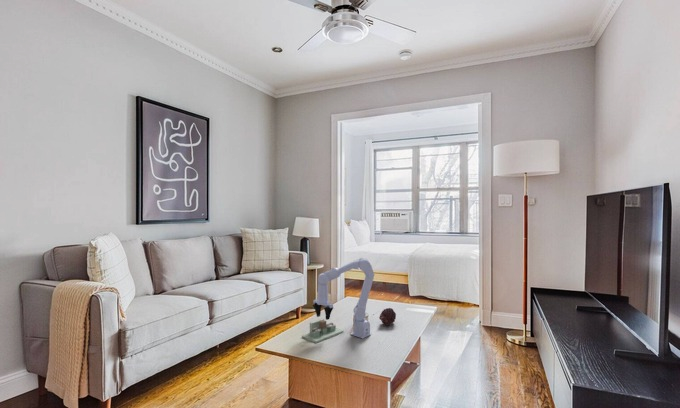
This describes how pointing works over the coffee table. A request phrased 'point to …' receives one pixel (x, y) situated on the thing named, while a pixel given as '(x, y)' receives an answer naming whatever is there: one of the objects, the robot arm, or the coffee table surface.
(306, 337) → the mint green baseplate
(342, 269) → the robot arm
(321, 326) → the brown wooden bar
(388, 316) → the pine cone
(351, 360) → the coffee table surface
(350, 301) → the coffee table surface
